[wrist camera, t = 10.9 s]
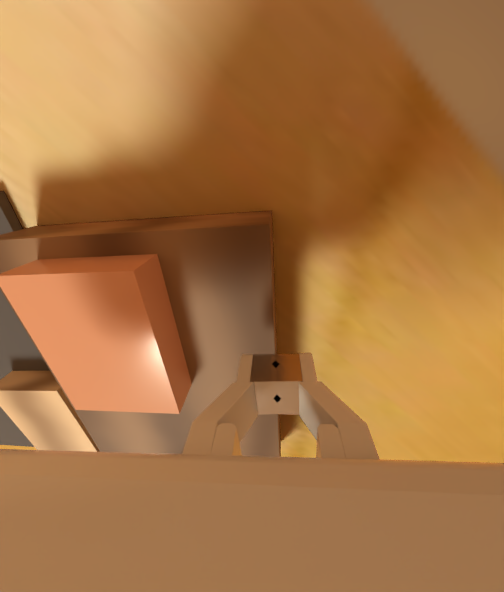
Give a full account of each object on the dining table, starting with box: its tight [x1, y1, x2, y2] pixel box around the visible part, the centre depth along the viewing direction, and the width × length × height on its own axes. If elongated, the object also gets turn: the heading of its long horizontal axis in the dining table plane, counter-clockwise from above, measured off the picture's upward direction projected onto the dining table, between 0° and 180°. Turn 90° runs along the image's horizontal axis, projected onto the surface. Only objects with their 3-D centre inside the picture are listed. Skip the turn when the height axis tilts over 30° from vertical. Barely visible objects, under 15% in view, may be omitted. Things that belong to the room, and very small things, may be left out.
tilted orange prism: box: [0, 254, 192, 414], centre depth 12 cm, size 6×8×2 cm
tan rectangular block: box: [0, 371, 100, 452], centre depth 21 cm, size 6×8×2 cm
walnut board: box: [0, 211, 281, 457], centre depth 17 cm, size 14×20×4 cm
